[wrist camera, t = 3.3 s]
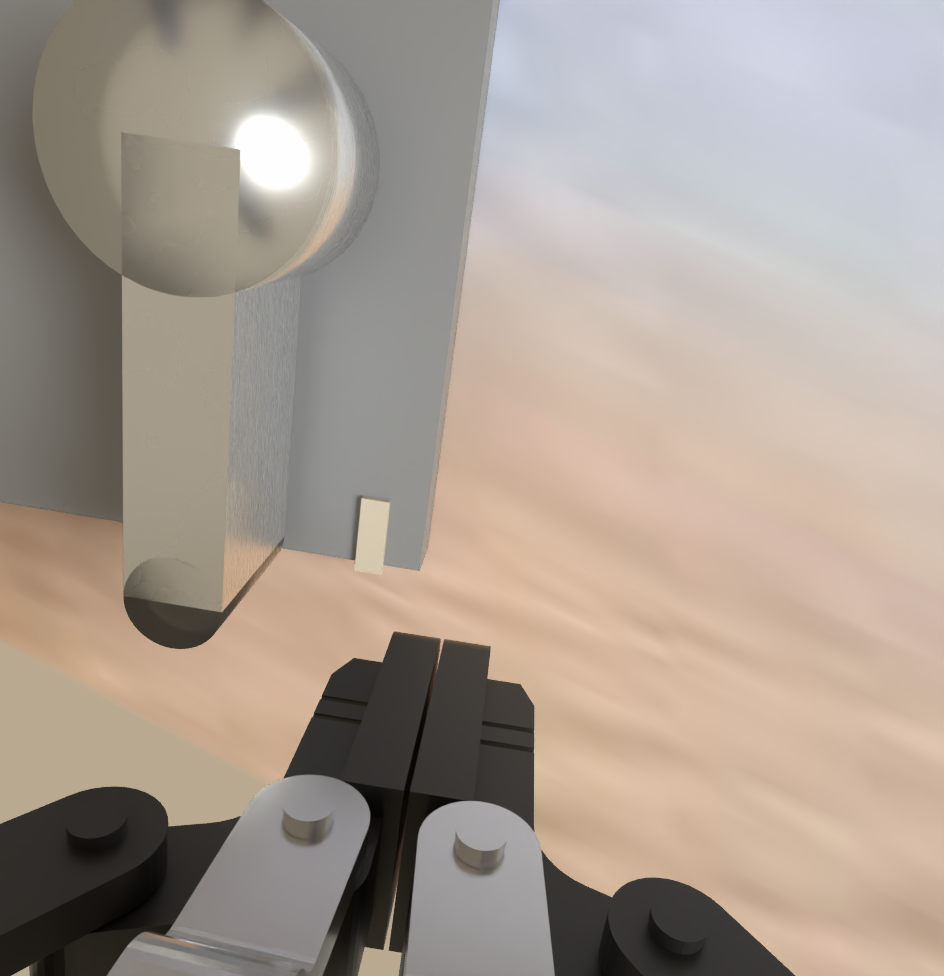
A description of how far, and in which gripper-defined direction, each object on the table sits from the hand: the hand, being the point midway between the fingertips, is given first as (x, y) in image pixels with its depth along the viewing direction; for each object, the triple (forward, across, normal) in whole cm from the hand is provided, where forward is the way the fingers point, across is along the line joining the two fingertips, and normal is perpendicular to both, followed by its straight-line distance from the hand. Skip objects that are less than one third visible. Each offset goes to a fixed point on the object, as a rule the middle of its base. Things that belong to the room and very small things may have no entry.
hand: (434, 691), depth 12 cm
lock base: (+10, +8, -5) cm, 13 cm away
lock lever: (+7, +5, -4) cm, 10 cm away
